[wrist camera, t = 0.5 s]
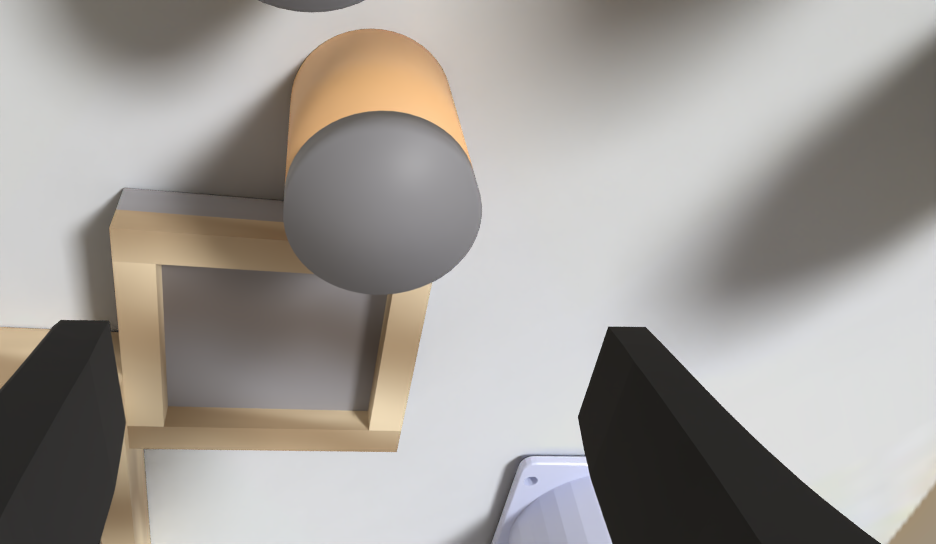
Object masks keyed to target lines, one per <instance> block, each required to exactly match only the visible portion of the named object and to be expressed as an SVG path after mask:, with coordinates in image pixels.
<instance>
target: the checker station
mask: <svg viewBox="0 0 936 544" xmlns="http://www.w3.org/2000/svg"><path fill="white" fill-rule="evenodd" d="M283 205H284V201H278V200H266V199H254V198H242V197H230V196H217V195H205V194H193V193H181V192H169V191H156V190H144V189H132V188H124V189H123V191H122V194H121V197H120V200H119V202H118V205H117V208H116V211H115V213H114V216H113V219H112V222H111V224H110V227H109V232H110V243H111V254H112V265H113V275H114V286H115V297H116V308H117V319H118V330H119V332H111V336H112V342H113V348H114V354H115V360H116V366H117V371H118V377H119V383H120V389H121V395H122V401H123V407H124V413H125V419H126V426H125V432H124V439H123V445H122V452H121V458H120V464H119V470H118V475H117V481H116V487H115V492H114V495H113V499H112V502H111V506H110V509H109V513H108V516H107V519H106V523H105V526H104V530H103V533H102V536H101V543H102V544H151V541H150V528H149V514H148V501H147V488H146V475H145V462H144V449H197V450H278V451H360V452H397V448H398V443H399V438H400V433H401V428H402V424H403V419H404V414H405V409H406V405H407V400H408V395H409V390H410V385H411V381H412V376H413V371H414V366H415V362H416V357H417V352H418V347H419V342H420V338H421V333H422V328H423V323H424V319H425V314H426V309H427V304H428V299H429V295H430V290H431V285H432V283H430V284H428V285H425V286H423V287H420V288H417V289H414V290H411V291H407V292H402V293H397V294H386V295H372V294H362V293H357V292H352V291H348V290H345V289H342V288H339V287H336V286H334V285H332V284H330V283H328V282H326V281H324V280H323V279H321V278H319V277H318V276H316V275H315V274H314V273H312V272H311V271H310V270H309V269H308V268H307V267H306V266H305V265H304V264H303V263H302V262H301V261H300V260H299V258H298V257H297V256H296V254H295V253H294V251H293V250H292V248H291V246H290V244H289V242H288V239H287V236H286V233H285V228H284V223H283ZM50 330H51V329H33V328H10V327H0V389H1V388H2V386H3V385H4V384H5V383H6V382H7V381H8V380H9V378H10V377H11V376H12V375H13V374H14V373H15V372H16V370H17V369H18V368H19V367H20V366H21V364H22V363H23V362H24V361H25V360H26V359H27V357H28V356H29V355H30V354H31V353H32V351H33V350H34V349H35V348H36V346H37V345H38V344H39V343H40V342H41V340H42V339H43V338H44V337H45V336H46V334H47V333H48V332H49V331H50Z"/></svg>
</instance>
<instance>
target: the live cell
mask: <svg viewBox="0 0 936 544" xmlns="http://www.w3.org/2000/svg"><path fill="white" fill-rule="evenodd" d="M481 217H482V203H481V197H480V192H479V189H478V185H477V182H476V178H475V175H474V171H473V168H472V164H471V161H470V157H469V154H468V150H467V147H466V143H465V140H464V136H463V133H462V129H461V126H460V122H459V119H458V115H457V112H456V108H455V105H454V101H453V98H452V94H451V91H450V87H449V84H448V81H447V77H446V75H445V73H444V71H443V69H442V67H441V66H440V64H439V63H438V61H437V60H436V59H435V58H434V57H433V55H432V54H431V53H430V52H429V51H428V50H426V49H425V48H424V47H423V46H422V45H420V44H419V43H417V42H416V41H414V40H412V39H410V38H408V37H406V36H404V35H402V34H399V33H396V32H392V31H387V30H382V29H359V30H354V31H349V32H346V33H343V34H340V35H337V36H335V37H333V38H331V39H329V40H327V41H326V42H324V43H323V44H321V45H320V46H318V47H317V48H316V49H315V50H314V51H313V52H311V54H310V55H309V56H308V57H307V58H306V59H305V61H304V62H303V64H302V65H301V67H300V68H299V70H298V72H297V75H296V77H295V79H294V83H293V86H292V92H291V101H290V116H289V131H288V146H287V161H286V175H285V190H284V205H283V223H284V228H285V233H286V236H287V239H288V242H289V244H290V246H291V248H292V250H293V251H294V253H295V254H296V256H297V257H298V258H299V260H300V261H301V262H302V263H303V264H304V265H305V266H306V267H307V268H308V269H309V270H310V271H311V272H312V273H314V274H315V275H316V276H318V277H319V278H321V279H323V280H324V281H326V282H328V283H330V284H332V285H334V286H336V287H339V288H342V289H345V290H348V291H352V292H357V293H362V294H372V295H386V294H397V293H402V292H407V291H411V290H414V289H417V288H420V287H423V286H425V285H428V284H430V283H432V282H434V281H436V280H437V279H439V278H441V277H442V276H444V275H445V274H447V273H448V272H449V271H451V270H452V269H453V268H454V267H455V266H456V265H457V264H458V263H459V262H460V261H461V260H462V259H463V258H464V257H465V256H466V254H467V253H468V251H469V250H470V248H471V247H472V245H473V243H474V241H475V239H476V237H477V234H478V231H479V228H480V223H481Z"/></svg>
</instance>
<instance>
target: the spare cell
mask: <svg viewBox="0 0 936 544" xmlns="http://www.w3.org/2000/svg"><path fill="white" fill-rule="evenodd" d="M259 1H261V2H263V3H266V4H269V5H272V6H275V7H278V8H282V9H287V10H292V11H300V12H326V11H332V10H338V9H343V8H346V7H349V6H352V5H355V4H358V3H360V2H362V1H364V0H259Z"/></svg>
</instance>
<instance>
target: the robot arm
mask: <svg viewBox="0 0 936 544" xmlns="http://www.w3.org/2000/svg"><path fill="white" fill-rule="evenodd" d="M578 420H579V425H580V430H581V436H582V441H583V446H584V451H585V456H530V457H527V458H525V459H524V460H522V461H521V463H520V464H519V467H518V469H517V472H516V475H515V478H514V481H513V484H512V487H511V489H510V492H509V495H508V498H507V501H506V504H505V506H504V509H503V512H502V515H501V518H500V521H499V523H498V526H497V529H496V532H495V535H494V538H493V540H492V543H491V544H881V543H879V542H878V541H877V540H875V539H874V538H872V537H871V536H870V535H868V534H867V533H866V532H864V531H863V530H862V529H860V528H859V527H858V526H857V525H855V524H854V523H853V522H852V521H850V520H849V519H848V518H847V517H845V516H844V515H843V514H841V513H840V512H839V511H838V510H836V509H835V508H834V507H833V506H831V505H830V504H829V503H828V502H826V501H825V500H824V499H822V498H821V497H820V496H819V495H818V494H817V493H815V492H814V491H813V490H812V489H811V488H809V487H808V486H807V485H806V484H805V483H803V482H802V481H801V480H800V479H799V478H798V477H797V476H796V475H794V474H793V473H792V472H791V471H790V470H789V469H788V468H787V467H786V466H784V465H783V464H782V463H781V462H780V461H779V460H778V459H777V458H776V457H774V456H773V455H772V454H771V453H770V452H769V451H768V450H767V449H766V448H765V447H764V446H762V445H761V444H760V443H759V442H758V441H757V440H756V439H755V438H754V437H753V436H752V435H751V434H750V433H749V432H748V431H747V430H746V429H745V428H744V427H743V426H742V425H741V424H740V423H739V422H738V421H737V420H735V419H734V418H733V417H732V416H731V415H730V414H729V413H728V412H727V411H726V410H725V409H724V408H723V407H722V406H721V404H720V403H719V402H718V401H717V400H716V399H715V398H714V397H713V396H712V395H711V394H710V393H709V392H708V391H707V390H706V389H705V388H704V387H703V386H702V385H701V384H700V383H699V382H698V381H697V380H696V379H695V378H694V377H693V376H692V375H691V374H690V372H689V371H688V370H687V369H686V368H685V367H684V366H683V365H682V364H681V363H680V362H679V361H678V360H677V359H676V358H675V357H674V356H673V355H672V354H671V353H670V352H669V350H668V349H667V348H666V347H665V346H664V345H663V344H662V343H661V342H660V341H659V340H658V339H657V338H656V337H655V336H654V335H653V334H652V333H651V332H650V331H649V330H648V329H647V328H646V327H608V329H607V332H606V335H605V338H604V341H603V344H602V347H601V350H600V353H599V356H598V359H597V362H596V365H595V368H594V371H593V374H592V377H591V380H590V383H589V386H588V389H587V392H586V395H585V398H584V401H583V403H582V406H581V409H580V412H579V415H578ZM125 426H126V419H125V413H124V407H123V401H122V395H121V389H120V383H119V377H118V371H117V366H116V360H115V354H114V348H113V342H112V336H111V330H110V324H109V321H88V320H60V321H59V322H58V323H57V324H55V325H54V326H53V327H52V328H51V330H50V331H49V332H48V333H47V334H46V336H45V337H44V338H43V339H42V340H41V342H40V343H39V344H38V345H37V346H36V348H35V349H34V350H33V351H32V353H31V354H30V355H29V356H28V357H27V359H26V360H25V361H24V362H23V363H22V364H21V366H20V367H19V368H18V369H17V370H16V372H15V373H14V374H13V375H12V376H11V377H10V378H9V380H8V381H7V382H6V383H5V384H4V385H3V386H2V388H1V389H0V544H99V543H100V540H101V536H102V533H103V530H104V526H105V523H106V519H107V516H108V513H109V509H110V506H111V502H112V499H113V495H114V492H115V487H116V481H117V475H118V470H119V464H120V458H121V452H122V445H123V439H124V432H125Z"/></svg>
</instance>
